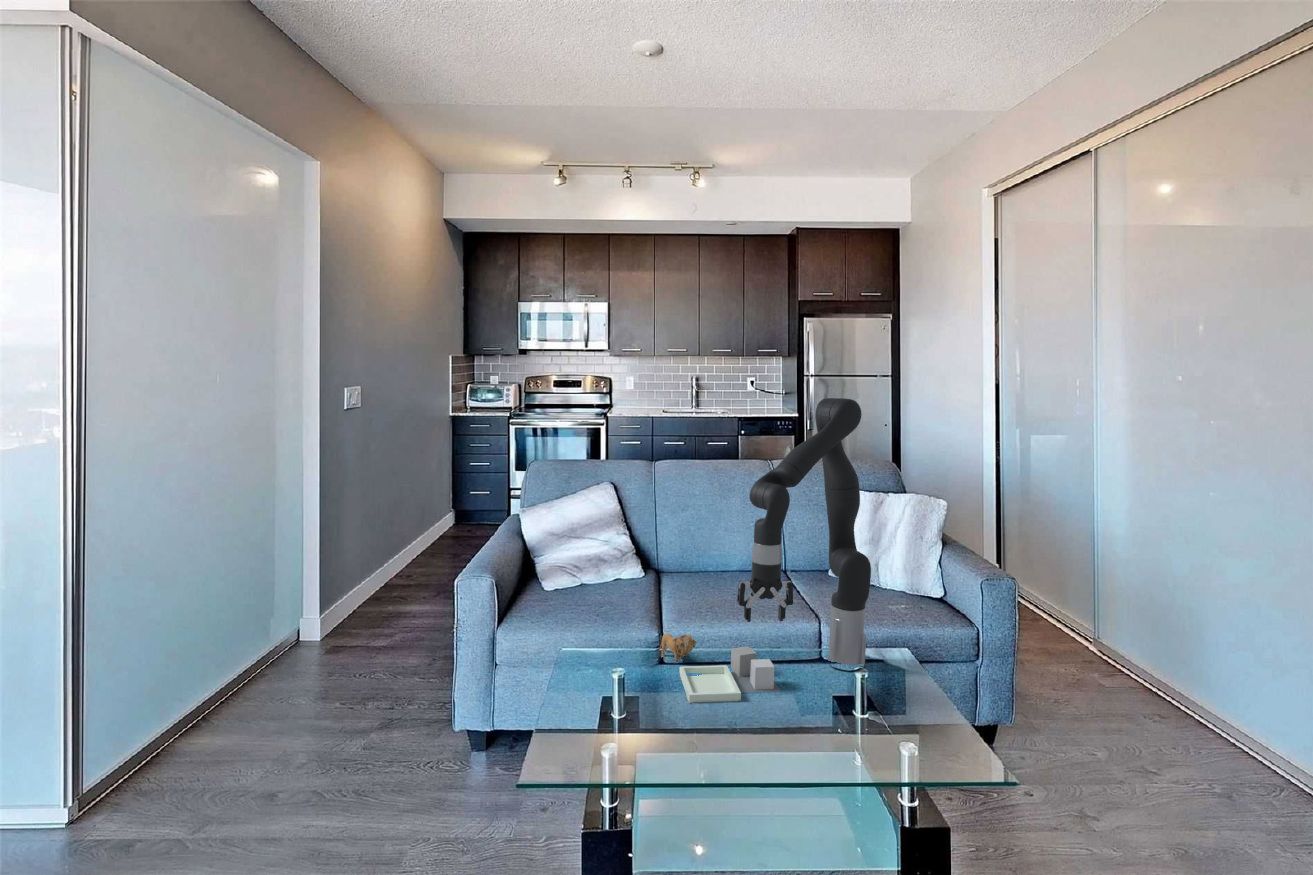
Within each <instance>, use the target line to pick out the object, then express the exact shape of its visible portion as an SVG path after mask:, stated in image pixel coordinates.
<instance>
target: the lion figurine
mask: <svg viewBox="0 0 1313 875" xmlns="http://www.w3.org/2000/svg"><path fill="white" fill-rule="evenodd" d="M696 646H697V641H696V640H695V639H694V638H693V636H692V634H689V633H688V634H687V633H685V634H684V635H681V636H677V637H676V638H675V637H673V636H672V634H670V633H664V634H663V635H662V637H661V643H660V646H659V647H658V648H656V649H655V650H654V651H655V652H659V651H660V650H661V658H662V657H665V658H666V655H665V653H666V654H667V653H668V650H669V651H671V652H672V653H673V654H674V655H673V656H674V663H675V662H679V660H680V659H683V660H684V658H685V656H687V655H688V654H689V653H691V652H693V649H695V648H696ZM667 649H668V650H667Z"/></svg>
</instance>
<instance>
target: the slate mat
mask: <svg viewBox="0 0 1313 875" xmlns="http://www.w3.org/2000/svg"><path fill="white" fill-rule="evenodd" d="M731 674H732V676H733V678H734V680H735V682H736V684H737V686H738V688H739V690H740V692H741V694H748V693H749V694H751V693H752V694H753V693H756V694H757V693H780V692H782V691H781V689H780V688H779V686H778V684H777V683H776V681H775V680H774V689H762V690H755V689H754V688H753V686H752V684H751V682H750V675H748V676H742V677H739V676H738V675H736V674H735V673H734V672H731Z"/></svg>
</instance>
